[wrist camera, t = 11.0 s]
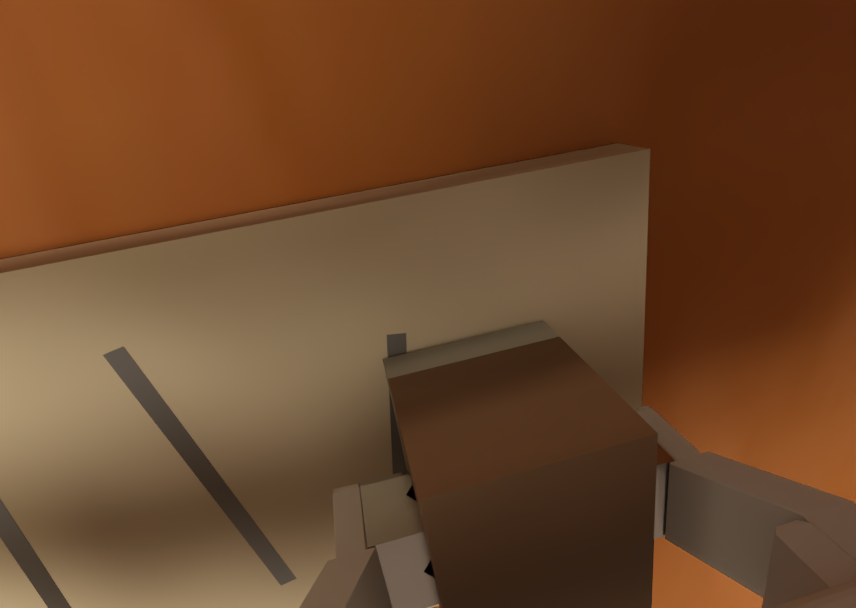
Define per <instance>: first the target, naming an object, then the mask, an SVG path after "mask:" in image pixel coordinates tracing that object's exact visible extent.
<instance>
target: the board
mask: <svg viewBox="0 0 856 608" xmlns="http://www.w3.org/2000/svg"><path fill="white" fill-rule="evenodd" d="M649 175H650V149H649V148H643V147H637V146H631V145H625V144H619V143H616V144H610V145H605V146H600V147H594V148H589V149H584V150H578V151H573V152H568V153H563V154H557V155H552V156H547V157H541V158H536V159H531V160H525V161H520V162H515V163H509V164H504V165H499V166H493V167H488V168H483V169H478V170H472V171H467V172H462V173H456V174H451V175H446V176H440V177H435V178H430V179H424V180H419V181H414V182H408V183H403V184H398V185H393V186H387V187H382V188H377V189H371V190H366V191H361V192H355V193H350V194H345V195H339V196H334V197H329V198H323V199H318V200H313V201H307V202H302V203H297V204H292V205H286V206H281V207H276V208H270V209H265V210H260V211H254V212H249V213H244V214H238V215H233V216H228V217H222V218H217V219H212V220H207V221H201V222H196V223H191V224H185V225H180V226H175V227H169V228H164V229H159V230H153V231H148V232H143V233H137V234H132V235H127V236H122V237H116V238H111V239H106V240H100V241H95V242H90V243H84V244H79V245H74V246H68V247H63V248H58V249H52V250H47V251H42V252H36V253H31V254H26V255H21V256H15V257H10V258H5V259H0V608H299V607H300V606H301V604H302V602H303V601H304V599H305V597H306V596H307V594H308V592H309V591H310V589H311V588H312V586H313V584H314V583H315V581H316V579H317V578H318V576H319V574H320V573H321V571H322V569H323V568H324V566H325V564H326V563H327V561H328V560H331V559H335V558H336V554H335V534H334V513H333V492H334V489H337V488H341V487H345V486H349V485H353V484H357V483H360V482H363V481H367V480H372V479H376V478H380V477H384V476H388V475H392V474H396V473H400V472H404V471H407V468H406V463H405V459H404V454H403V450H402V445H401V441H400V436H399V432H398V427H397V422H396V418H395V413H394V409H393V404H392V400H391V395H390V391H389V386H388V382H387V377H386V373H385V368H384V364H383V359H385V358H389V357H393V356H397V355H401V354H406V353H410V352H414V351H418V350H422V349H426V348H430V347H434V346H439V345H443V344H447V343H451V342H455V341H459V340H463V339H468V338H472V337H476V336H480V335H484V334H488V333H492V332H497V331H501V330H505V329H509V328H513V327H517V326H521V325H526V324H530V323H534V322H538V321H542V320H543V321H544V322H545V323H546V324H547V325H548V326H549V327H550V328H551V329H552V330H553V331H554V332H555V333H556V334H557V335H558V336H559V337H560V338H561V339H562V340H563V341H564V342H566V343H567V344H568V345H569V346H570V347H571V348H572V349H573V350H574V351H575V352H576V353H577V354H578V355H579V356H580V357H581V358H582V359H583V360H584V361H585V362H586V363H587V364H588V365H589V366H590V367H591V368H592V369H593V370H594V371H595V372H596V373H597V374H598V375H599V376H600V377H601V378H602V379H603V380H604V381H605V382H606V383H607V384H608V385H609V386H610V387H611V388H612V389H613V390H614V391H615V392H616V393H617V394H618V395H619V396H620V397H621V398H622V399H623V400H625V401H626V402H627V403H628V404H629V405H630V406H631V407H632V408H633V409H636V408H639V407H642V389H643V359H644V328H645V297H646V267H647V236H648V206H649ZM436 606H439V604H437V605H434V606H431V607H428V608H432V607H436Z"/></svg>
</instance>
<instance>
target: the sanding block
mask: <svg viewBox="0 0 856 608" xmlns="http://www.w3.org/2000/svg"><path fill="white" fill-rule="evenodd" d="M383 364H384V368H385V373H386V377H387V382H388V386H389V391H390V395H391V400H392V404H393V409H394V413H395V418H396V422H397V427H398V432H399V436H400V441H401V445H402V450H403V454H404V459H405V463H406V468H407V471H409V473H410V476H411V480H412V484H413V489H414V493H415V498H416V502H417V503H418V507H419V511H420V515H421V519H422V523H423V527H424V532H425V536H426V540H427V545H428V549H429V554H430V558H431V560H430V561H431V565H432V569H433V573H434V577H435V582H436V587H437V592H438V597H439V602H440V604H439V608H651V605H652V578H653V551H654V524H655V496H656V469H657V442H658V433H657V432H656V431H655V430H654V429H653V428H652V427H651V426H650V425H649V424H648V423H647V422H646V421H645V420H644V419H643V418H642V417H641V416H640V415H639V414H638V413H637V412H636V411H635V410H634V409H633V408H632V407H631V406H630V405H629V404H628V403H627V402H626V401H625V400H623V399H622V398H621V397H620V396H619V395H618V394H617V393H616V392H615V391H614V390H613V389H612V388H611V387H610V386H609V385H608V384H607V383H606V382H605V381H604V380H603V379H602V378H601V377H600V376H599V375H598V374H597V373H596V372H595V371H594V370H593V369H592V368H591V367H590V366H589V365H588V364H587V363H586V362H585V361H584V360H583V359H582V358H581V357H580V356H579V355H578V354H577V353H576V352H575V351H574V350H573V349H572V348H571V347H570V346H569V345H568V344H567V343H566V342H564V341H563V340H562V339H561V338H560V337H559V336H558V335H557V334H556V333H555V332H554V331H553V330H552V329H551V328H550V327H549V326H548V325H547V324H546V323H545V322H544V321H543V320H542V321H538V322H534V323H530V324H526V325H521V326H517V327H513V328H509V329H505V330H501V331H497V332H492V333H488V334H484V335H480V336H476V337H472V338H468V339H463V340H459V341H455V342H451V343H447V344H443V345H439V346H434V347H430V348H426V349H422V350H418V351H414V352H410V353H406V354H401V355H397V356H393V357H389V358H385V359H383Z"/></svg>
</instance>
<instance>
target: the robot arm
mask: <svg viewBox="0 0 856 608" xmlns="http://www.w3.org/2000/svg"><path fill="white" fill-rule="evenodd" d="M634 410H635V411H636V412H637V413H638V414H639V415H640V416H641V417H642V418H643V419H644V420H645V421H646V422H647V423H648V424H649V425H650V426H651V427H652V428H653V429H654V430H655V431H656V432H657V433H658V442H657V469H656V496H655V524H654V539H657V538H661V537H664V536H665V539H667V540H668V541H670V542H672V543H673V544H675V545H677V546H678V547H680V548H682V549H683V550H685V551H686V552H688V553H690V554H691V555H693V556H695V557H696V558H698V559H700V560H701V561H703V562H705V563H706V564H708V565H710V566H711V567H713V568H715V569H716V570H718V571H720V572H721V573H723V574H725V575H726V576H728V577H730V578H731V579H733V580H735V581H736V582H738V583H740V584H741V585H743V586H745V587H746V588H748V589H750V590H751V591H753V592H755V593H756V594H758V595H760V596H761V597H763V604H762V608H856V504H855V503H854V502H852V501H850V500H847V499H844V498H841V497H838V496H836V495H833V494H830V493H827V492H824V491H821V490H818V489H815V488H812V487H809V486H806V485H804V484H801V483H798V482H795V481H792V480H789V479H786V478H783V477H780V476H777V475H775V474H772V473H769V472H766V471H763V470H760V469H757V468H754V467H751V466H748V465H745V464H743V463H740V462H737V461H734V460H731V459H728V458H725V457H722V456H719V455H716V454H714V453H711V452H706V453H703V454H702V453H701V452H699V451H698V450H697V449H696V448H695V447H694V446H693V445H692V444H691V443H690V442H689V441H687V440H686V439H685V438H684V437H683V436H682V435H681V434H680V433H679V432H678V431H677V430H675V429H674V428H673V427H672V426H671V425H670V424H669V423H668V422H667V421H666V420H665V419H663V418H662V417H661V416H660V415H659V414H658V413H657V412H656V411H655V410H654V409H652V408H651V407H648V406H643V407H639V408H636V409H634ZM333 513H334V534H335V554H336V558H335V559H331V560H328V561H327V563H326V564H325V566H324V568H323V569H322V571H321V573H320V574H319V576H318V578H317V579H316V581H315V583H314V584H313V586H312V588H311V589H310V591H309V592H308V594H307V596H306V597H305V599H304V601H303V602H302V604H301V606H300V607H299V608H428V607H431V606H434V605H437V604H440V602H439V597H438V592H437V587H436V582H435V577H434V573H433V569H432V565H431V561H430V560H431V558H430V554H429V549H428V545H427V540H426V536H425V532H424V527H423V523H422V519H421V515H420V511H419V507H418V503H417V502H416V498H415V493H414V489H413V484H412V480H411V476H410V473H409V471H404V472H400V473H396V474H392V475H388V476H384V477H380V478H376V479H372V480H367V481H363V482H360V483H357V484H353V485H349V486H345V487H341V488H337V489H334V492H333Z"/></svg>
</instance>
